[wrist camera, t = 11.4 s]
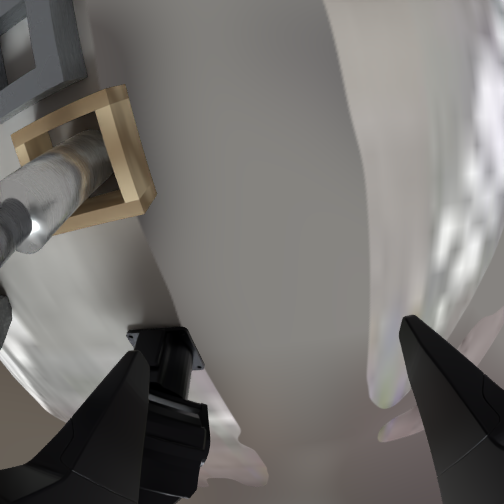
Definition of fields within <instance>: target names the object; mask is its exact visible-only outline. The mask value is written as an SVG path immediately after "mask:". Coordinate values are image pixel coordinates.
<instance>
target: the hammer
mask: <svg viewBox="0 0 504 504" xmlns="http://www.w3.org/2000/svg"><path fill="white" fill-rule="evenodd" d="M11 321H12V309H11V306H10V304H9V301H8V298H7V297H5V296H2V295H0V350H1V348H2V346H3V343H4V340H5V338H6V335H7V332H8V329H9V326H10V324H11Z"/></svg>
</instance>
